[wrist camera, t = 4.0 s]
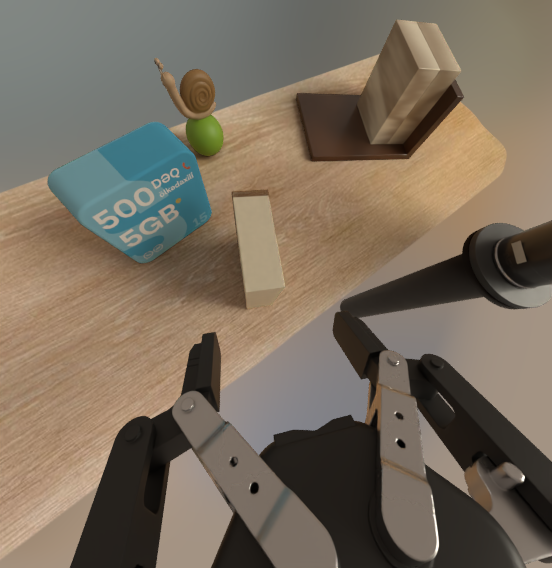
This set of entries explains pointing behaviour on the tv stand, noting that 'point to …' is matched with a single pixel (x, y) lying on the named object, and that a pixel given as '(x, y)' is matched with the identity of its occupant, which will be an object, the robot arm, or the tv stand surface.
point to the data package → (136, 192)
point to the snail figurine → (196, 109)
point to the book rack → (387, 101)
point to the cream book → (257, 248)
